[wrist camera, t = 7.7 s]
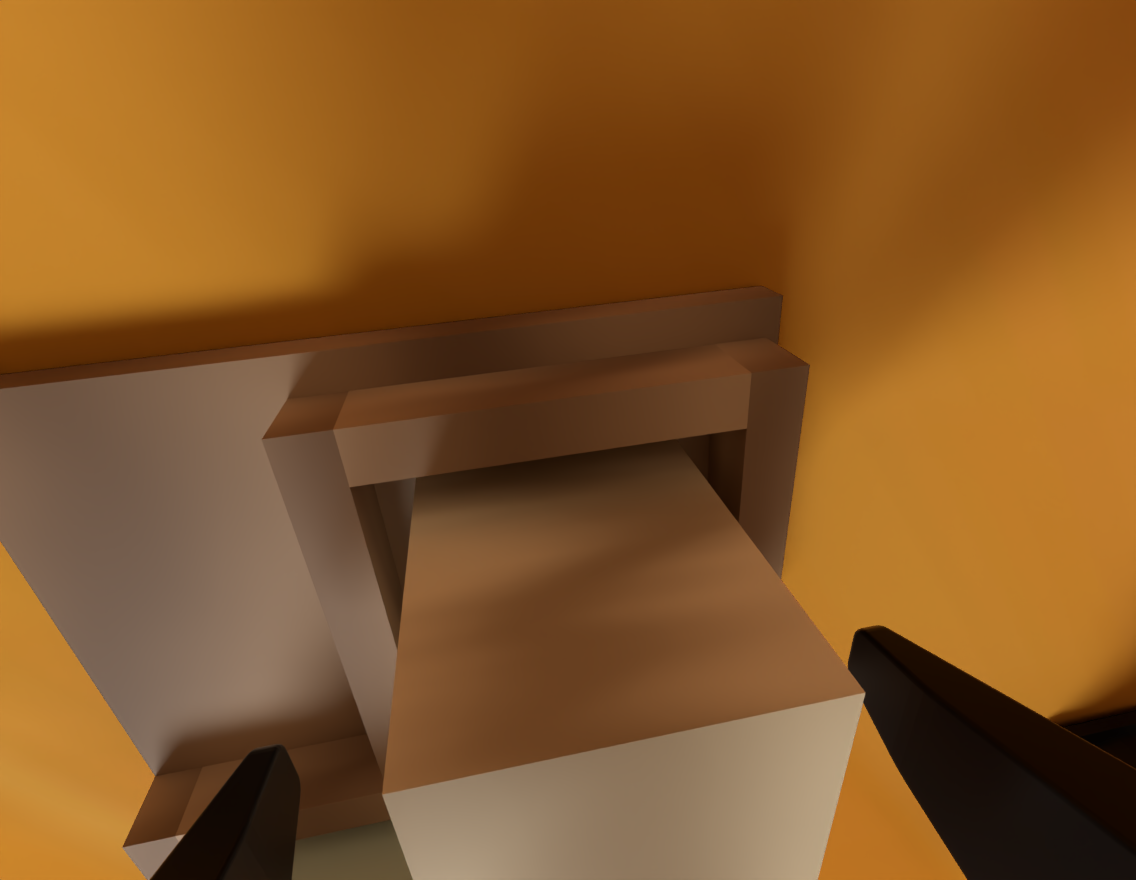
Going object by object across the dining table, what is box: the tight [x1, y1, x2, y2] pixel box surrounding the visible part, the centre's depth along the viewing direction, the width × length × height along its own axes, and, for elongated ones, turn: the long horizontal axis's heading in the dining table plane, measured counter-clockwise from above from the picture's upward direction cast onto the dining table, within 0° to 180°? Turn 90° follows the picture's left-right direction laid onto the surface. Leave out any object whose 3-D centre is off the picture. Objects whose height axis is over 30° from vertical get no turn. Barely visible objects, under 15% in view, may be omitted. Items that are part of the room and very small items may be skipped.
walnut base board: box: [0, 286, 810, 880], centre depth 13 cm, size 14×18×2 cm
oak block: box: [382, 439, 865, 880], centre depth 10 cm, size 5×5×6 cm
